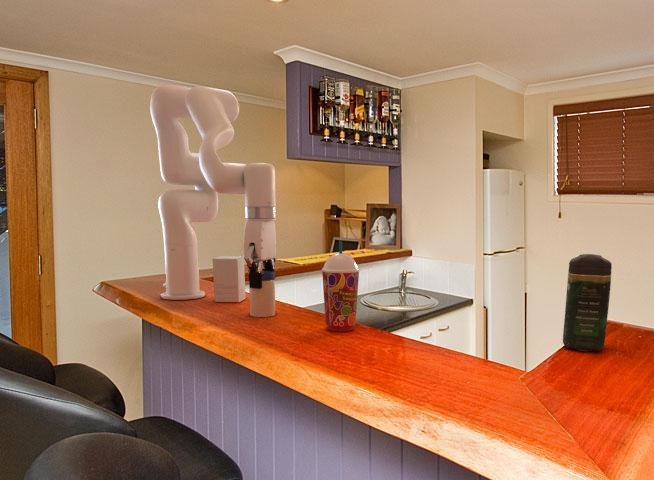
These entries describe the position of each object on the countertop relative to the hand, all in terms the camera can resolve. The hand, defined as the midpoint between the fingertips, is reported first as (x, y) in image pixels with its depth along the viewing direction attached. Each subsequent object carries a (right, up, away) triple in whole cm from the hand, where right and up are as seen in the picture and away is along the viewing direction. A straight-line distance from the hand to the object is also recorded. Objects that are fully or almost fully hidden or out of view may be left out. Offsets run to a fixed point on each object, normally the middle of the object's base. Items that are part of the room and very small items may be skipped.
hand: (262, 285), depth 141 cm
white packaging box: (-13, -4, +21) cm, 25 cm away
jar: (0, -7, +1) cm, 7 cm away
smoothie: (+20, -11, -15) cm, 27 cm away
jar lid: (0, +3, -1) cm, 3 cm away
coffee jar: (+69, -13, -29) cm, 76 cm away
